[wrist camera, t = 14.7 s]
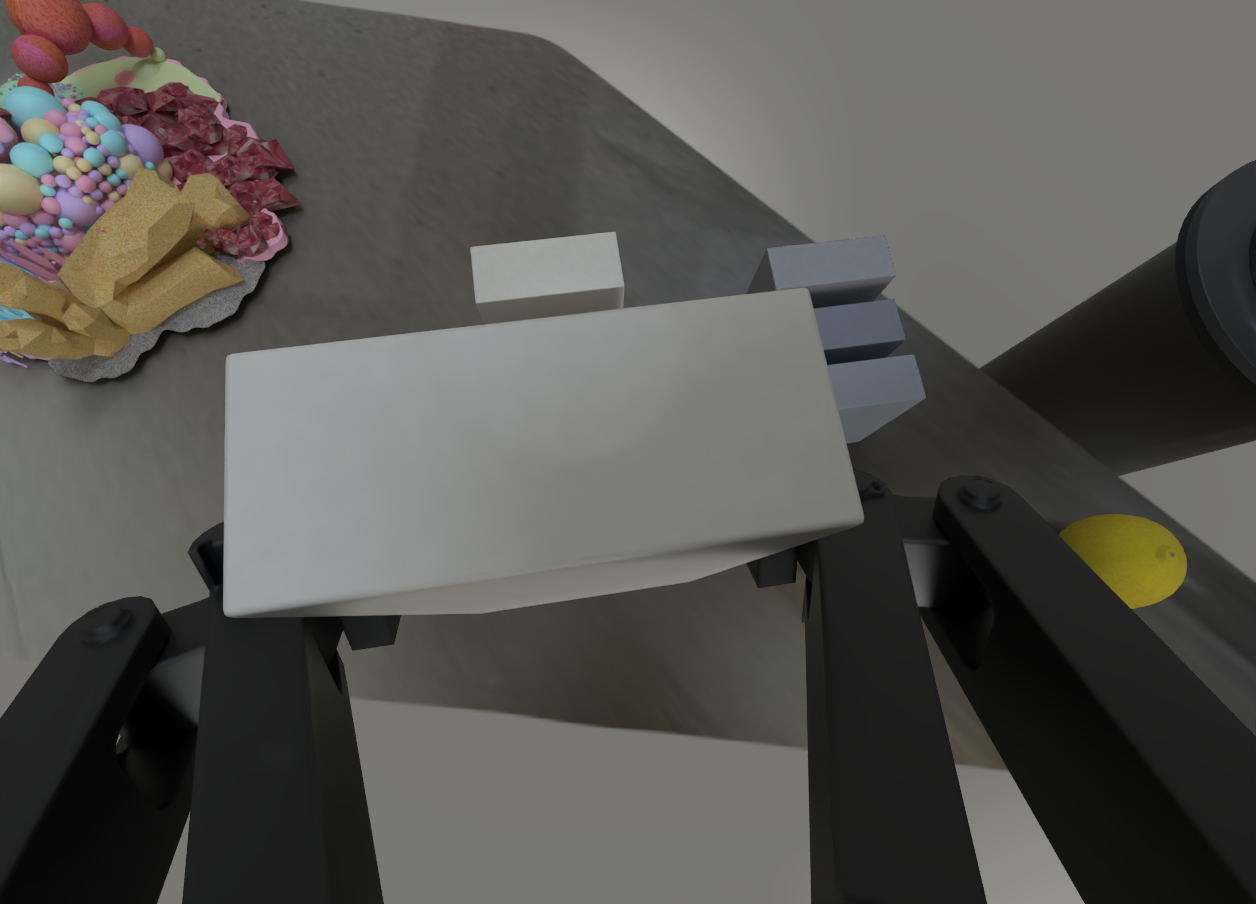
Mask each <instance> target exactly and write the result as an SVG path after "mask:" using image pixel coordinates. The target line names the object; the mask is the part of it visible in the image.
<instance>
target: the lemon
mask: <svg viewBox="0 0 1256 904" xmlns="http://www.w3.org/2000/svg"><path fill="white" fill-rule="evenodd" d="M1059 536H1060V537H1061V538H1062V539H1063V540H1064V541H1065V542H1066V543H1067V544H1068V545H1069V546H1070V547H1071V548H1072V549H1073V550H1074V551H1075V552H1076V553H1077V554H1078V555H1079V556H1080V557H1081V558H1082V559H1083V560H1084V562H1085V563H1086V564H1087V565H1088V566H1089V567H1090V568H1091V569H1092V570H1093V571H1094V572H1095V573H1096V574H1097V575H1098V576H1099V577H1100V578H1101V579H1102V580H1103V581H1104V582H1105V583H1106V584H1107V585H1108V586H1109V587H1110V588H1111V589H1112V590H1113V591H1114V592H1115V593H1116V594H1117V595H1118V596H1119V597H1120V598H1121V599H1122V600H1123V601H1124V602H1125V603H1126V604H1127V605H1128V606H1129V608H1130V609H1133V608H1138V607H1143V606H1147V605H1151V604H1154V603H1157V602H1159V601H1162V600H1163V599H1165V598H1167V597H1168V596H1170V595H1172V594H1173V593H1174V592H1175V591H1176V590H1177V589H1178V588H1179V586H1180V585H1181V584H1182V582H1183V580H1184V578H1185V575H1186V569H1187V560H1186V555H1185V552H1184V550H1183V547H1182V546H1181V544H1180V543H1179V541H1178V540H1177V539H1176V538H1175V537H1174V535H1173V534H1172V533H1171V532H1170V531H1168V530H1167V529H1166V528H1164V527H1163V526H1161V525H1160V524H1158V523H1156V522H1153V521H1151V520H1149V519H1146V518H1142V517H1137V516H1131V515H1125V514H1105V515H1095V516H1090V517H1087V518H1085V519H1082V520H1079V521H1076V522H1074V523H1072V524H1071V525H1069V526H1068V527H1066V528H1065V529H1064V530H1062V531H1061V532H1060V533H1059Z"/></svg>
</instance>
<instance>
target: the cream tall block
mask: <svg viewBox="0 0 1256 904" xmlns="http://www.w3.org/2000/svg"><path fill="white" fill-rule="evenodd" d="M863 521H864V513H863V509H862V505H861V501H860V497H859V493H858V489H857V485H856V481H855V477H854V472H853V468H852V464H851V460H850V456H849V452H848V448H847V444H846V440H845V436H844V432H843V427H842V423H841V419H840V415H839V411H838V407H837V403H836V399H835V395H834V391H833V386H832V382H831V378H830V374H829V370H828V366H827V362H826V358H825V354H824V350H823V346H822V341H821V337H820V333H819V329H818V325H817V321H816V317H815V313H814V309H813V305H812V300H811V296H810V292H809V291H808V289H807V288H796V289H788V290H779V291H770V292H762V293H753V294H744V295H736V296H727V297H719V298H710V299H701V300H693V301H684V302H675V303H667V304H658V305H650V306H641V307H632V308H624V309H615V310H606V311H598V312H589V313H581V314H572V315H563V316H555V317H546V318H537V319H529V320H520V321H512V322H503V323H494V324H486V325H477V326H468V327H460V328H451V329H443V330H434V331H425V332H417V333H408V334H399V335H391V336H382V337H374V338H365V339H356V340H348V341H339V342H330V343H322V344H313V345H305V346H296V347H287V348H279V349H270V350H261V351H253V352H244V353H236V354H231V355H228V356H227V358H226V386H225V476H224V565H223V611H224V614H225V615H226V616H227V617H231V618H265V617H318V616H370V615H423V614H476V613H487V612H494V611H501V610H507V609H514V608H520V607H527V606H534V605H540V604H547V603H553V602H560V601H566V600H573V599H580V598H586V597H593V596H599V595H606V594H613V593H619V592H626V591H632V590H639V589H645V588H652V587H659V586H665V585H672V584H678V583H685V582H690V581H693V580H696V579H699V578H702V577H705V576H708V575H711V574H714V573H717V572H720V571H723V570H726V569H729V568H732V567H735V566H738V565H741V564H744V563H747V562H750V561H753V560H756V559H759V558H762V557H765V556H768V555H771V554H774V553H777V552H780V551H783V550H786V549H789V548H792V547H795V546H798V545H801V544H804V543H807V542H810V541H813V540H817V539H820V538H823V537H826V536H829V535H832V534H835V533H838V532H841V531H844V530H847V529H850V528H853V527H856V526H858V525H860V524H861V523H863Z"/></svg>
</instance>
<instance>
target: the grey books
mask: <svg viewBox="0 0 1256 904" xmlns="http://www.w3.org/2000/svg"><path fill="white" fill-rule="evenodd" d="M895 276H896V272H895V269H894V265H893V262H892V258H891V254H890V251H889V247H888V244H887V240H886V237H885V236H884V235H883V236H875V237H865V238H856V239H847V240H838V241H829V242H821V243H811V244H802V245H793V246H784V247H775V248H767V249H766V251H765V254H764V256H763V258H762V260H761V262H760V265H759V267H758V269H757V271H756V273H755V276H754V278H753V280H752V282H751V284H750V287H749V289H748V291H747V293H746V294H753V293H762V292H770V291H779V290H788V289H796V288H807V289H808V291H809V292H810V296H811V300H812V305H813V309H814V313H815V317H816V321H817V325H818V329H819V333H820V337H821V341H822V346H823V350H824V354H825V358H826V362H827V366H828V370H829V374H830V378H831V382H832V386H833V391H834V395H835V399H836V403H837V407H838V411H839V415H840V419H841V423H842V427H843V432H844V436H845V440H846V443H854V442H859V441H861V440H862V439H864V438H865V437H867V436H869V435H870V434H872V433H873V432H875V431H876V430H878V429H879V428H881V427H882V426H884V425H885V424H887V423H888V422H890V421H891V420H893V419H894V418H896V417H897V416H899V415H900V414H902V413H904V412H905V411H907V410H908V409H910V408H911V407H913V406H914V405H916V404H917V403H919V402H920V401H922V400H923V399H925V398H926V395H925V391H924V388H923V384H922V380H921V377H920V373H919V370H918V366H917V363H916V359H915V356H914V354H911V355H903V356H895V357H887V356H888V355H889V354H890V353H892V352H893V351H894V350H895V349H896V348H897V347H898V346H899V345H900V344H902V343H903V342H904V341H905V340H906V339H905V335H904V332H903V328H902V324H901V321H900V317H899V314H898V310H897V307H896V303H895V300H894V299H889V300H880V301H874V300H875V299H876V298H877V297H878V295H879V294H880V293H881V292H882V291H883V290H884V288H886V286H887V285H888V284H889V283H890V282H891V281H892V279H893V278H894V277H895ZM886 357H887V358H886Z"/></svg>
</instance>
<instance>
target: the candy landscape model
mask: <svg viewBox="0 0 1256 904" xmlns="http://www.w3.org/2000/svg"><path fill="white" fill-rule="evenodd" d="M5 2H6V8H7V11H8V14H9V18H10V20H11V21H12V22H13V24H14V25H15V26H16V27H17V29H18V30H19V31H20V33H21V34H22V35H21V36H19V37H18V38H16V39H15V41H14V42H13V43H12V45H11V51H12V57H13V59H14V61H15V63H16V64H17V66H18V67H19V68H20V69H21V70H22V71H23V72H24V73H25V74H26V75H27V76H26V75H25V74H16V76H20V75H23V76H20V78H17V80H19V81H15V80H14V81H11V80H12V78H11V77H10V78H9V79H8V80H7V81H8V82H7V83H6V82H5V84H2V86H0V354H1V353H3V352H4V353H7V352H10V353H12V354H14V355H16V356H18V357H21V358H23V357H24V356H26V357H28V358H30V359H35V358H38V359H43V360H48V365H49V366H50V367H52V368H53V370H54V372H55V373H57V374H59V375H62V376H66V377H70V378H74V379H77V380H81V381H85V382H94V381H96V380H98V379H99V378H102V377H106V378H116V377H118V376H119V375H121V374H123V373H126V372H129V371H130V370H131V369H132V368H133V366H134V365H135V363H136V361H137V359H138V357H139V356H140V354H141V353H143V352H145V351H147V350H150V349H151V348H152V347H153V346H154V345H155V343H156V342H157V340H158V338H159V336H160V334H161V332H163V331H164V330H173V331H177V332H187V331H189V330H190V329H192V328H195V327H200V328H206V327H209V326H211V325H212V324H214V323H216V322H219V321H221V320H223V319H224V318H226V317H228V316H230V315H232V314H234V313H235V312H236V310H237V309H238V307H239V304H240V302H241V300H242V298H243V297H244V296H245V295H246V294H248V293H250V292H252V291H253V290H254V288H255V287H256V285H257V282H258V280H259V278H260V276H261V274H262V272H263V271H264V269H265V263H264V261H266V260H269V259H271V258H272V257H273V256H274V254H275V253H276V252H277V251H278V250H281V249H283V248H284V247H285V246H286V245H287V243H289V242H288V233H287V228H286V227H285V226H283V225H282V222H281V220H280V219H279V218H278V217H277V216H276V215H275V214H274V213H273V212H272V211H276V210H280V209H285V208H289V207H293V206H297V205H301V204H302V203H301V202H300V201H298V200H297V199H296V198H295V197H294V196H293V195H292V194H291V193H290V192H289V191H288V190H287V189H286V188H285V187H284V186H282V185H281V184H280V183H279V182H278V181H277V180H276V179H275V178H274V177H275V176H276V175H277V174H278V173H279V172H278V170H285V169H295V168H294V167H293V165H292V164H291V162H290V161H289V159H288V157H287V156H286V154H285V153H284V151H283V150H282V148H281V147H280V145H279V143H278V142H277V140H271V141H264V140H260V139H259V137H258V136H257V133H256V132H255V131H254V129H253V128H252V127H251V125H250V124H248V123H245V122H240V121H234V120H229V115H228V113H227V112H226V108H227V102H226V101H225V99H224V98H223V97H222V95H221V94H220V93H218V92H216V91H215V90H214V89H213V88H212V86H211V85H210V84H209V82H208V81H207V80H206V79H205V78H202V77H197V76H196V75H194V74H193V73H192V72H191V71H190V70H189V69H187V68H185V67H183V66H182V65H181V63H180V62H178V61H176V60H171V59H167V58H166V56H165V53H164V52H163V51H162V50H161V49H160V48H157V47H153V42H152V40H151V38H150V37H149V36H148V34H147V33H145V32H144V31H143V30H142V29H139V28H137V27H134V26H129V27H127V25H126V23H125V22H124V20H123V19H122V18H121V16H120V15H119V14H118V13H117V12H115V11H114V10H113V9H112V8H110V7H108V6H105V5H103V4H101V3H99V2H95V3H84V4H83V5H81V4H80V2H79V1H78V0H5ZM89 42H91V43H92V44H94V45H96V46H98V47H100V48H103V49H106V50H117V49H121V48H122V47H124V48H125V50H126V51H128V52H129V53H130V54H131V55H133V56H136V57H126V56H121V57H118V58H116V59H114V60H111V61H107V62H102V63H94V64H92V65H90V66H87V67H84V68H82V69H80V70H78V71H75V72H73V73H72V74H71V75H70V76H67V74H68V62H67V60H66V58H65V56H64V55H72V54H77V53H80V52H82V51H83V50H85V49H86V48H87V46H88V45H89ZM66 76H67V77H66ZM12 77H13V78H14V77H15V75H12ZM9 81H10V82H9ZM18 353H20V354H22V355H24V356H22V355H20V354H18ZM0 359H2V360H3V361H5V362H8V363H10V362H13V363H15V364H18V365H21V366H23V367H25V368H26V367H27V365H24V364H22V363H20V362H17V361H16V360H14V359H12V358H10V357H7V356H5V355H4V356H3V357H2V356H0Z"/></svg>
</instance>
